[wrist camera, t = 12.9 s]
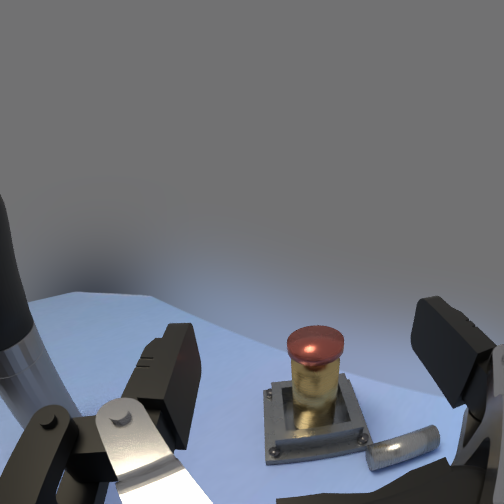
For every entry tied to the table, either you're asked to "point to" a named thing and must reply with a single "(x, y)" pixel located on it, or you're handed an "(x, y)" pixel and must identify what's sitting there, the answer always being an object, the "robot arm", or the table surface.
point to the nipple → (402, 447)
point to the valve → (314, 374)
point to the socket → (312, 439)
